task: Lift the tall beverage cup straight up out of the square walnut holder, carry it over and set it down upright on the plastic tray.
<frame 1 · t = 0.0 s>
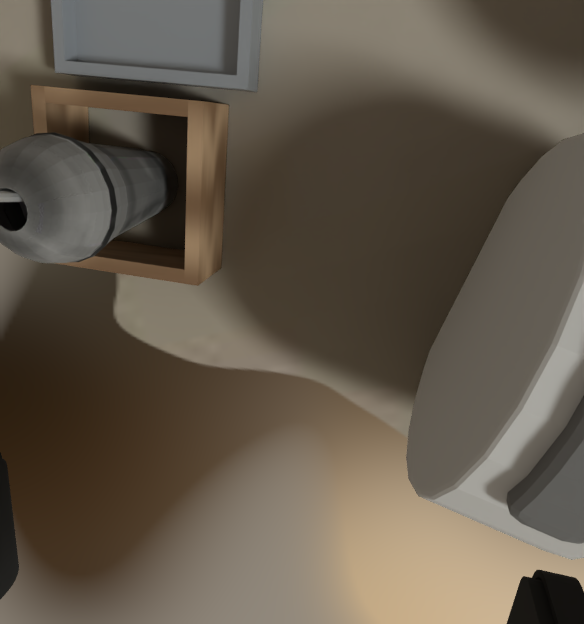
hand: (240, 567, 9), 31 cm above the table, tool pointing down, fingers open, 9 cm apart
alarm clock: (515, 297, 38), on the table
beverage cup: (151, 181, 40), resting in holder
holder: (150, 181, 40), on the table
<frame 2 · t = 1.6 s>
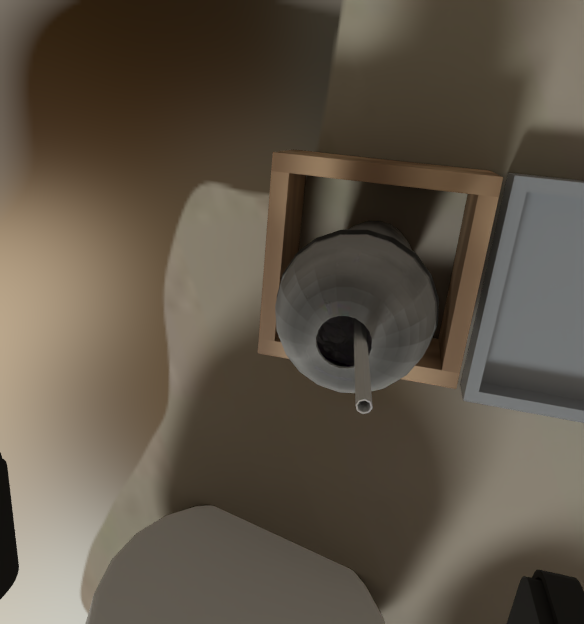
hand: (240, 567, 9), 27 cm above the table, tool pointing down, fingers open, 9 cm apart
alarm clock: (268, 566, 45), on the table
beverage cup: (374, 254, 34), resting in holder
holder: (374, 255, 34), on the table
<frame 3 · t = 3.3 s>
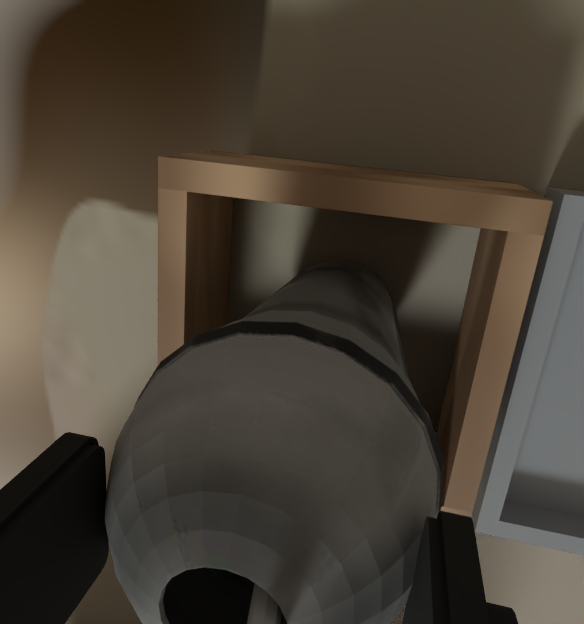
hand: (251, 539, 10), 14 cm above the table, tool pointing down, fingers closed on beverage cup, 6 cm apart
beverage cup: (339, 308, 23), resting in holder, touching gripper
holder: (339, 310, 23), on the table
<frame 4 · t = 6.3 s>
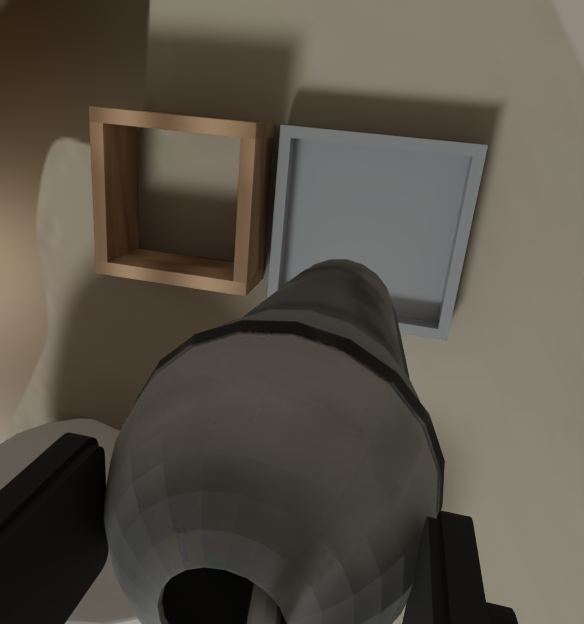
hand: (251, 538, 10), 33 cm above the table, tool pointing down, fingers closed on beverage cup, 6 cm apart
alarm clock: (142, 471, 53), on the table
beverage cup: (339, 308, 23), point 19 cm above the table, touching gripper
holder: (195, 195, 42), on the table
tray: (368, 230, 40), on the table
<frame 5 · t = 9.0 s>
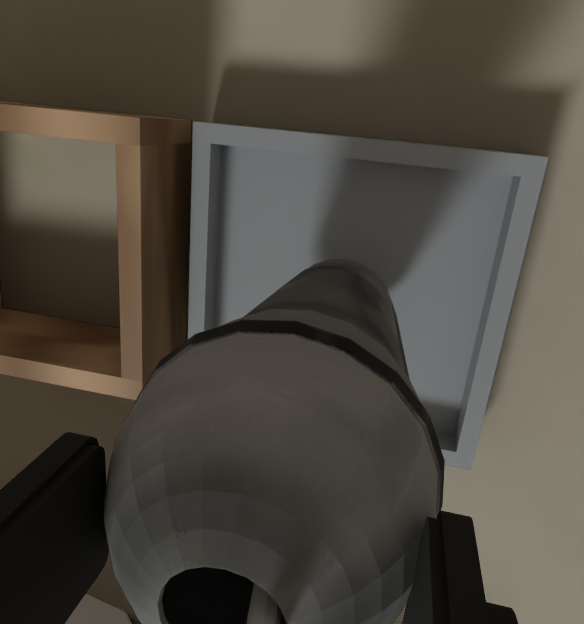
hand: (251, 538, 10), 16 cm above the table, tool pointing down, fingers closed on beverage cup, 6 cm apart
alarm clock: (37, 606, 38), on the table
beverage cup: (339, 308, 23), point 3 cm above the table, touching gripper
holder: (78, 232, 27), on the table
tray: (345, 290, 25), on the table
when the fingers open (16 cm above the table, at t = 9.7 s): beverage cup drops 1 cm, resting on tray.
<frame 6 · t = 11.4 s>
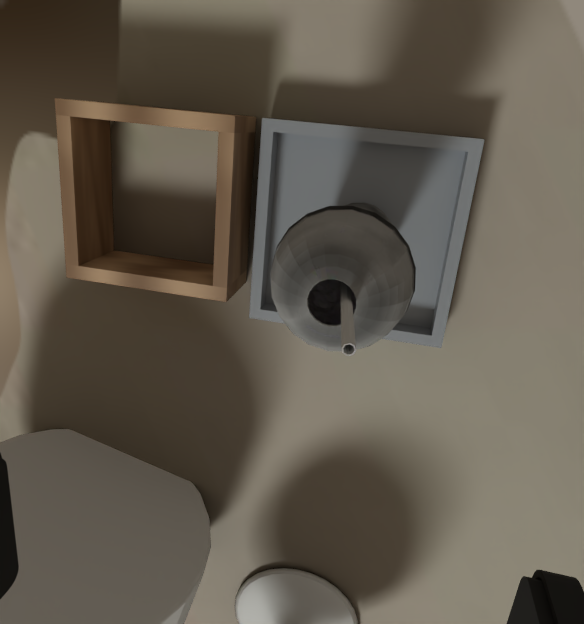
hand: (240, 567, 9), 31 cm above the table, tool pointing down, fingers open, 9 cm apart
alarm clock: (122, 483, 50), on the table
beverage cup: (359, 234, 37), point 1 cm above the table, touching tray
holder: (173, 194, 39), on the table
tray: (357, 231, 38), on the table
chalice: (296, 612, 51), on the table
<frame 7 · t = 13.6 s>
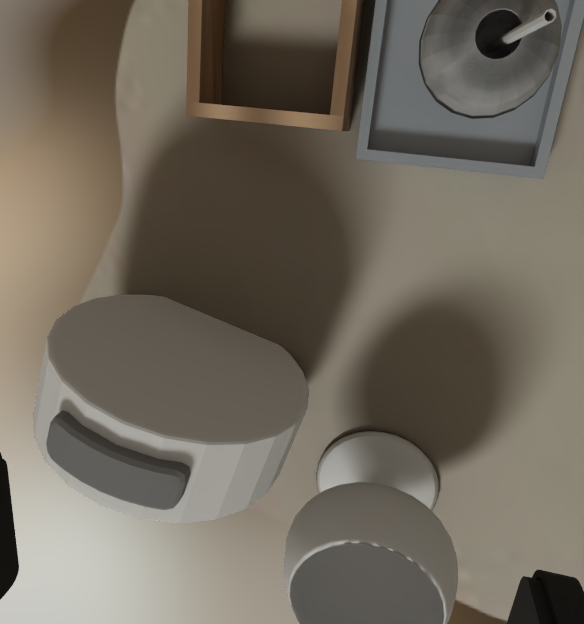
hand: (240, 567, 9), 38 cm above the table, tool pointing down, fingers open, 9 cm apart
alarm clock: (211, 352, 52), on the table
beverage cup: (465, 71, 39), point 1 cm above the table, touching tray
holder: (283, 43, 42), on the table
tray: (462, 71, 40), on the table
chalice: (376, 480, 53), on the table
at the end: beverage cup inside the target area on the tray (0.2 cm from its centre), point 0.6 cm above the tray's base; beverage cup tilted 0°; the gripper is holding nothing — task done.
